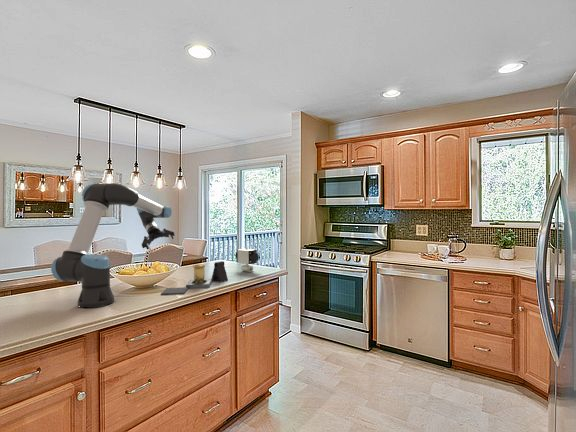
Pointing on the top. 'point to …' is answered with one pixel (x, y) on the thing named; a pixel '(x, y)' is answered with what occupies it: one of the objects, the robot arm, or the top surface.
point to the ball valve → (247, 258)
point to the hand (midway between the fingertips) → (161, 245)
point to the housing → (199, 284)
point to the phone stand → (219, 272)
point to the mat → (175, 291)
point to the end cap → (199, 273)
